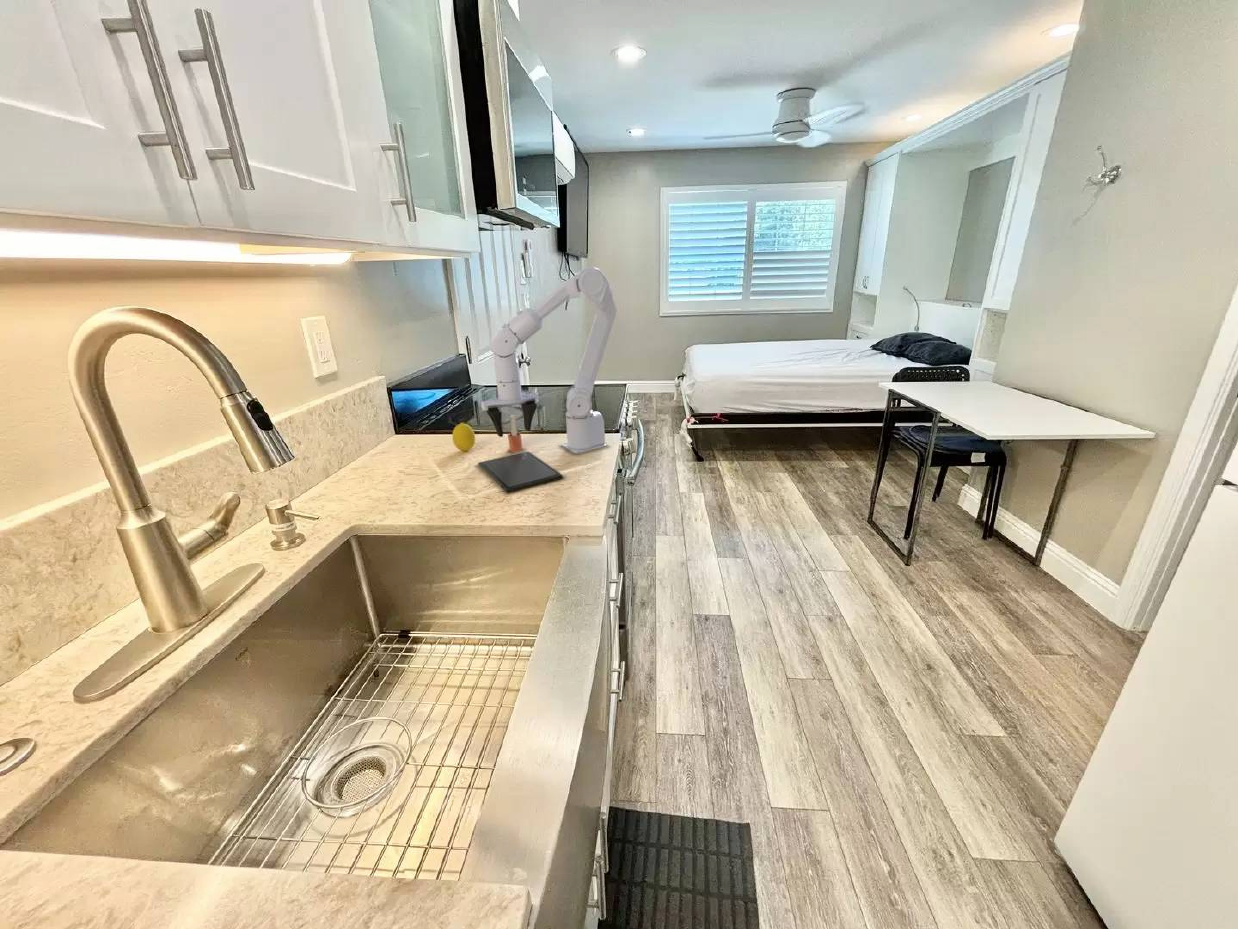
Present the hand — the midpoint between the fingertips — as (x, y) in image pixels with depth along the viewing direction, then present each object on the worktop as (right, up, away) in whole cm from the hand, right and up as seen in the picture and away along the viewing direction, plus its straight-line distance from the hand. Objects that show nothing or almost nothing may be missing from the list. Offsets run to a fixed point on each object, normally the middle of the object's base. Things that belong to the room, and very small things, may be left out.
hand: (514, 432), depth 126 cm
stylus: (0, -4, +2) cm, 4 cm away
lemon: (-13, -5, +2) cm, 14 cm away
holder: (0, -5, +2) cm, 5 cm away
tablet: (+4, -10, -12) cm, 16 cm away
